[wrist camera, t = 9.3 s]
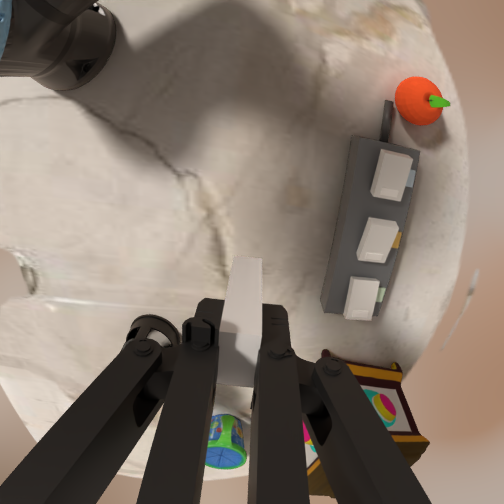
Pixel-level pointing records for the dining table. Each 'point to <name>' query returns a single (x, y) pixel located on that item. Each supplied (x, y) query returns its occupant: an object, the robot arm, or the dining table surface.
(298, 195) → the dining table surface
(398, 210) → the power strip
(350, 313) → the rocker
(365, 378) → the decorative lantern
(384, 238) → the plate
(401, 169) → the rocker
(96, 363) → the dining table surface
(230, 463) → the snack cup
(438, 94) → the clementine
